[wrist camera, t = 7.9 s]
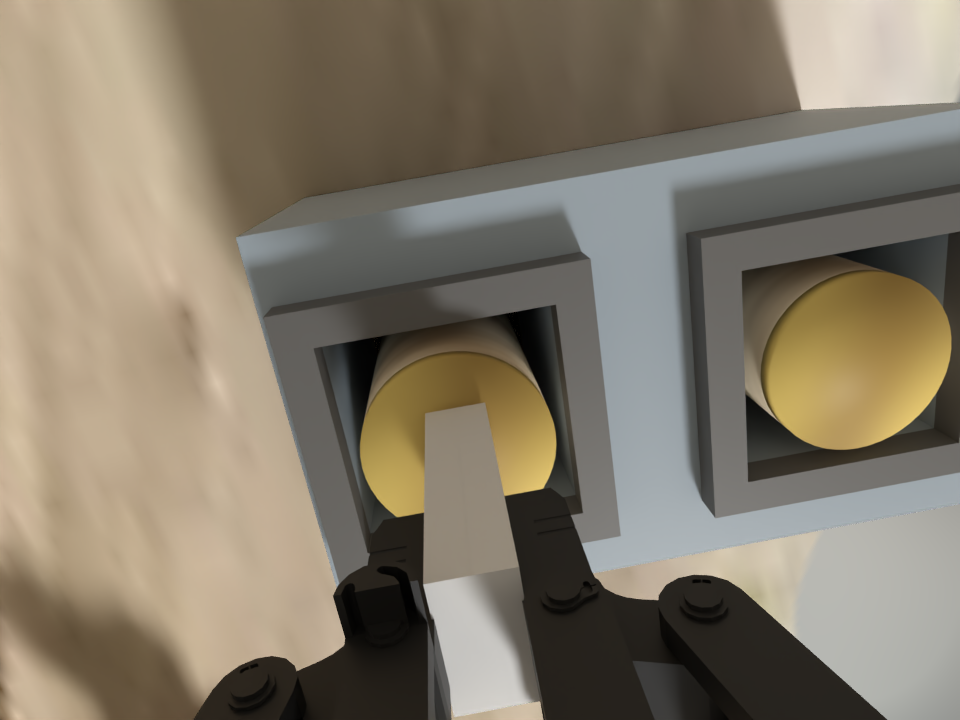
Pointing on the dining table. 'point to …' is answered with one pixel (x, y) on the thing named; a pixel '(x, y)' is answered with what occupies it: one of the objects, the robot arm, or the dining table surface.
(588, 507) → the socket block
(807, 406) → the peg
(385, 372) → the peg
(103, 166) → the dining table surface
